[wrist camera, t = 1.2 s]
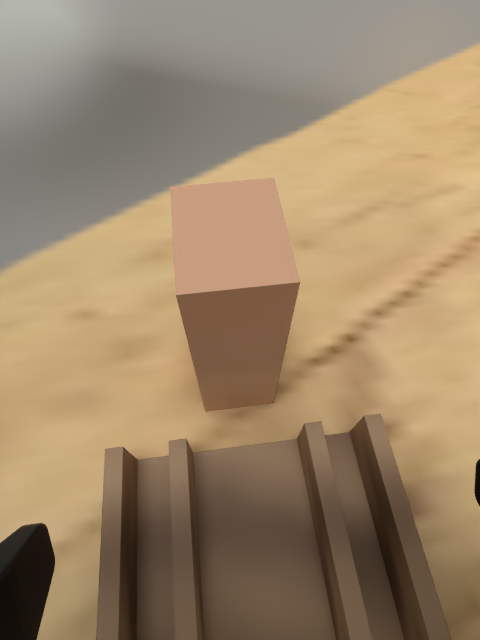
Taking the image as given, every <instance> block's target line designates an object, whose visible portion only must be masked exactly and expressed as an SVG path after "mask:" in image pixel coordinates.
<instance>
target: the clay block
mask: <svg viewBox="0 0 480 640" xmlns="http://www.w3.org/2000/svg"><path fill="white" fill-rule="evenodd" d="M170 191H171V209H172V228H173V247H174V266H175V285H176V297H177V301H178V305H179V309H180V313H181V317H182V321H183V325H184V329H185V333H186V336H187V340H188V344H189V348H190V352H191V356H192V360H193V364H194V368H195V372H196V376H197V380H198V384H199V388H200V392H201V396H202V400H203V404H204V408H205V411H212V410H220V409H228V408H236V407H244V406H252V405H260V404H269V403H274V398H275V394H276V389H277V384H278V380H279V375H280V371H281V366H282V362H283V357H284V353H285V348H286V344H287V339H288V334H289V330H290V325H291V321H292V316H293V312H294V307H295V303H296V298H297V294H298V289H299V284H300V280H299V276H298V272H297V268H296V264H295V260H294V256H293V252H292V248H291V244H290V240H289V236H288V232H287V228H286V224H285V220H284V216H283V212H282V208H281V204H280V200H279V196H278V192H277V188H276V184H275V180H274V178H268V179H257V180H245V181H234V182H222V183H211V184H200V185H188V186H177V187H170Z"/></svg>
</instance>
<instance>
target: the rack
mask: <svg viewBox="0 0 480 640" xmlns="http://www.w3.org/2000/svg"><path fill="white" fill-rule="evenodd" d="M96 640H451V637H450V634H449V630H448V627H447V624H446V621H445V618H444V615H443V611H442V608H441V605H440V602H439V599H438V595H437V592H436V589H435V586H434V583H433V579H432V576H431V573H430V570H429V567H428V563H427V560H426V557H425V554H424V551H423V548H422V544H421V541H420V538H419V535H418V532H417V528H416V525H415V522H414V519H413V516H412V512H411V509H410V506H409V503H408V500H407V497H406V493H405V490H404V487H403V484H402V481H401V477H400V474H399V471H398V468H397V465H396V461H395V458H394V455H393V452H392V449H391V446H390V442H389V439H388V436H387V433H386V430H385V426H384V423H383V420H382V417H381V414H375V415H367V416H364V417H363V418H362V419H361V420H360V421H359V422H358V423H357V424H356V426H355V427H354V428H353V429H352V430H351V431H350V432H348V433H340V434H333V435H325V436H324V431H323V427H322V423H321V421H320V422H312V423H305V424H304V426H303V428H302V430H301V432H300V434H299V436H298V438H297V439H294V440H287V441H279V442H271V443H263V444H256V445H248V446H240V447H233V448H225V449H217V450H210V451H202V452H194V453H193V452H192V450H191V448H190V446H189V444H188V442H187V440H186V439H179V440H171V441H169V456H164V457H156V458H148V459H140V460H137V459H136V458H135V457H134V456H133V455H132V454H130V453H129V452H128V451H127V450H126V449H125V448H124V447H116V448H109V449H105V464H104V486H103V507H102V529H101V551H100V572H99V594H98V615H97V637H96Z"/></svg>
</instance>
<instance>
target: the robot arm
mask: <svg viewBox="0 0 480 640" xmlns="http://www.w3.org/2000/svg"><path fill="white" fill-rule="evenodd" d="M475 497H476V500H477V502H478V504H479V506H480V459H479V460H478V461H477V463H476V474H475ZM54 567H55V556H54V552H53V548H52V544H51V540H50V536H49V532H48V529H47V527H46V525H45V524H43V523H37V524H30V525H24V526H22V527H20V528H19V529H17V530H16V531H15V532H14V533H12V534H11V535H10V536H9V537H7V538H6V539H5V540H4V541H2V542H1V543H0V640H36V639H37V635H38V631H39V627H40V623H41V619H42V616H43V612H44V608H45V604H46V600H47V596H48V592H49V588H50V584H51V580H52V576H53V572H54Z"/></svg>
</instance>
